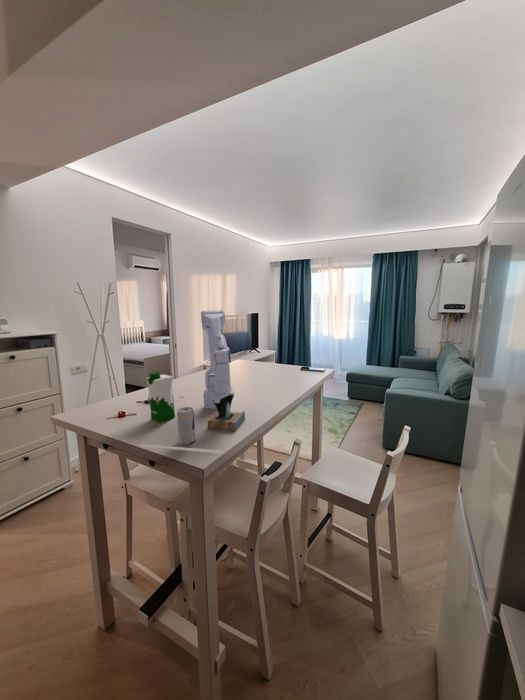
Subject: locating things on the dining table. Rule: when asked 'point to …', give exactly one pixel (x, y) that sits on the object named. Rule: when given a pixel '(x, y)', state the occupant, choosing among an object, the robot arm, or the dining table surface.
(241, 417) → the board
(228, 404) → the dowel
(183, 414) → the energy drink
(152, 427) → the dining table surface
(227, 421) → the socket block
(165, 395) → the milk carton
